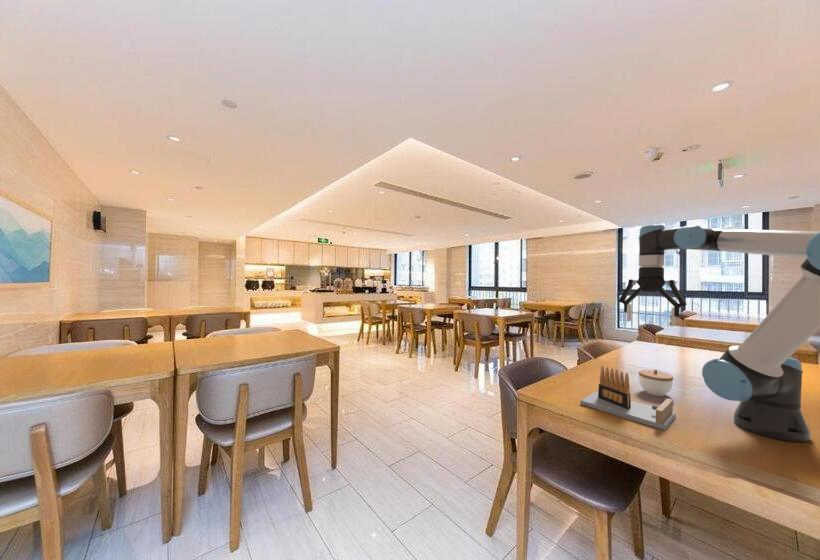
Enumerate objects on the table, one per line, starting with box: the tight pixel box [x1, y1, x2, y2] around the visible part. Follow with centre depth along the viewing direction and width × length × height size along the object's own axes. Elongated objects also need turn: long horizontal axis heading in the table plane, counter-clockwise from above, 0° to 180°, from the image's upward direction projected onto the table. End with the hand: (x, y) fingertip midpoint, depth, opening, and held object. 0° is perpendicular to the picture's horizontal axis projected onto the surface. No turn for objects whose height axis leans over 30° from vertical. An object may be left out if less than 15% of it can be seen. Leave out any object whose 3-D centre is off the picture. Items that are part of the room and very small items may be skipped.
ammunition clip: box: [597, 365, 632, 409], centre depth 110 cm, size 11×2×12 cm, turn 21°
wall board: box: [580, 391, 676, 431], centre depth 107 cm, size 24×14×6 cm, turn 39°
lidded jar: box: [638, 369, 674, 397], centre depth 124 cm, size 11×11×9 cm
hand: (650, 323), depth 118 cm, fingers open, 13 cm apart
